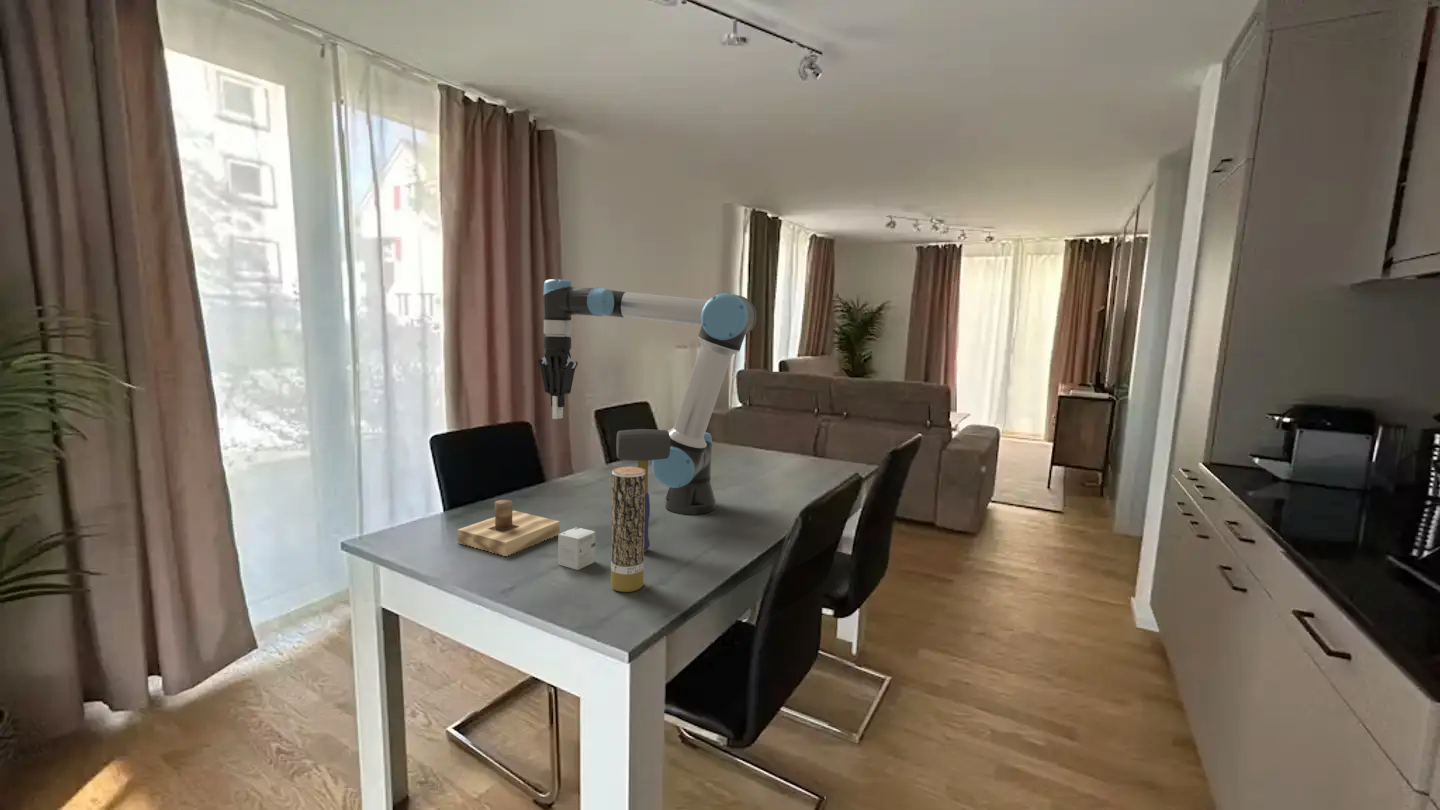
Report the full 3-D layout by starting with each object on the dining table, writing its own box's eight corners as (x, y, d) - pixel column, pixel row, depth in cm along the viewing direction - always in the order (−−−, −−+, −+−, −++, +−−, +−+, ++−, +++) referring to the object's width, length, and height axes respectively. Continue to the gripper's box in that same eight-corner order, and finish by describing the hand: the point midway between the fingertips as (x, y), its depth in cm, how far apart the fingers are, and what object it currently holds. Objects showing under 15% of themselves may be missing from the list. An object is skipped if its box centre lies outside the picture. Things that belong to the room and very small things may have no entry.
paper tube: (644, 580, 134) (646, 467, 131) (641, 594, 128) (644, 475, 124) (613, 579, 134) (614, 466, 131) (608, 593, 127) (609, 474, 124)
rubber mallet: (616, 558, 146) (618, 432, 142) (613, 546, 153) (615, 426, 149) (669, 555, 149) (672, 431, 145) (664, 544, 156) (666, 426, 152)
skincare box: (577, 570, 138) (578, 539, 137) (557, 564, 141) (557, 533, 140) (595, 562, 143) (596, 531, 142) (575, 556, 146) (575, 526, 145)
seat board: (559, 534, 160) (559, 521, 160) (505, 557, 144) (505, 542, 144) (513, 523, 167) (513, 510, 167) (457, 543, 152) (457, 529, 151)
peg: (516, 540, 155) (515, 501, 153) (503, 545, 151) (503, 505, 150) (504, 537, 157) (503, 498, 155) (491, 542, 153) (491, 502, 152)
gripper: (584, 336, 176) (584, 419, 179) (549, 334, 182) (549, 414, 185) (566, 336, 169) (566, 422, 172) (530, 334, 175) (531, 417, 178)
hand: (557, 418), depth 179 cm, fingers closed
